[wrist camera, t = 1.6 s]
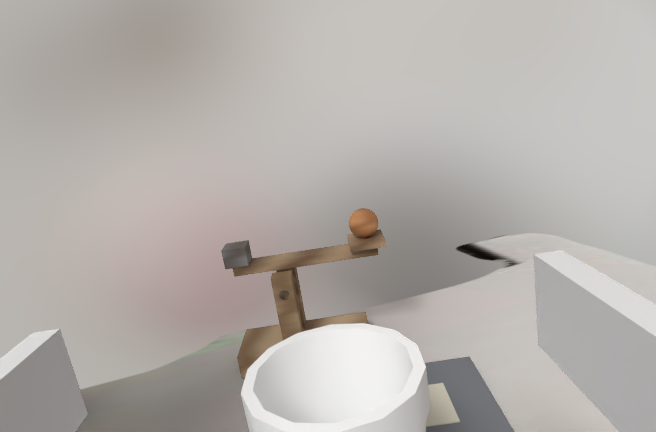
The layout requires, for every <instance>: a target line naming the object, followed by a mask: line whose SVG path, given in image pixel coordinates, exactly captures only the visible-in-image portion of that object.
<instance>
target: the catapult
mask: <svg viewBox="0 0 656 432" xmlns="http://www.w3.org/2000/svg"><path fill="white" fill-rule="evenodd" d="M349 226H350V229H351V231H352V233H353V234H348V242H349V244H344V245H338V246H332V247H325V248H318V249H312V250H305V251H298V252H292V253H285V254H279V255H273V256H266V257H259V258H252V256H251V251H250V246H249V241H242V242H235V243H228V244H226V245H225V246H224V248H223V249H222V256H223V260H224V265H225V269H230V268H233V272H234V276H241V275H248V274H255V273H261V272H268V271H274V270H276V271H277V272H276V273H272V277H271V282H272V288H273V292H274V297H275V303H276V308H277V313H278V318H279V323H280V325H274V326H267V327H261V328H254V329H247V330H246V333H245V336H244V339H243V342H242V345H241V348H240V351H239V354H238V357H237V359H238V363H239V368H240V372H241V377H242V378H245V376H246V373H247V369H248V368H249V367H250V366H251V365H252V364H253V363H254V362H255V361H256V360H257V359H258V358H259V357H260V356H261V355H262V354H263V353H264V352H265V351H266V350H267V349H268V348H270V347H272V346H274V345H276V344H277V343H279V342H281V341H283V340H285V339H287V338H289V337H291V336H293V335H295V334H297V333H300V332H303V331H307V330H311V329H315V328H319V327H323V326H327V325H331V324H356V323H366V324H368V320H367V316H366V312H362V313H355V314H348V315H341V316H335V317H328V318H321V319H315V320H308V321H306V318H305V314H304V308H303V302H302V296H301V291H300V285H299V280H298V274H297V269H296V267H301V266H307V265H314V264H320V263H327V262H334V261H341V260H347V259H354V258H360V257H367V256H373V255H378V248H381V247H386V243H385V238H384V236H383V234H382V232H381V230H377V227H378V219H377V216H376V215H375V213H374V212H372V211H370V210H369V209H364V208H363V209H358V210H356V211H355V212H354V213H353V214H352V215H351V217H350V220H349Z"/></svg>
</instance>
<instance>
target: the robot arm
mask: <svg viewBox="0 0 656 432" xmlns="http://www.w3.org/2000/svg"><path fill="white" fill-rule="evenodd" d="M534 272H535V291H536V311H537V330H538V345H539V346H540V347H541V348H542V350H543V351H544V352H545V353H546V354H547V355H548V356H549V357H550V358H551V359H552V360H553V361H554V362H555V363H556V364H557V366H558V367H559V368H560V369H561V370H562V371H563V372H564V373H565V374H566V375H567V376H568V377H569V378H570V379H571V381H572V382H573V383H574V384H575V385H576V386H577V387H578V388H579V389H580V390H581V391H582V392H583V393H584V394H585V395H586V397H587V398H588V399H589V400H590V401H591V402H592V403H593V404H594V405H595V406H596V407H597V408H598V409H599V410H600V412H601V413H602V414H603V415H604V416H605V417H606V418H607V419H608V420H609V421H610V422H611V423H612V424H613V425H614V426H615V428H616V429H617V430H618V431H619V432H656V304H654V303H653V302H651V301H649V300H647V299H646V298H644V297H642V296H640V295H639V294H637V293H635V292H634V291H632V290H630V289H628V288H627V287H625V286H623V285H621V284H620V283H618V282H616V281H614V280H613V279H611V278H609V277H608V276H606V275H604V274H602V273H601V272H599V271H597V270H595V269H594V268H592V267H590V266H589V265H587V264H585V263H583V262H582V261H580V260H578V259H576V258H575V257H573V256H571V255H570V254H568V253H566V252H564V251H563V250H558V251H552V252H545V253H539V254H534ZM87 415H88V413H87V410H86V407H85V403H84V400H83V397H82V394H81V391H80V388H79V385H78V382H77V379H76V376H75V373H74V370H73V367H72V364H71V361H70V358H69V355H68V352H67V349H66V346H65V343H64V340H63V337H62V334H61V331H60V329H56V330H49V331H43V332H37V333H32V334H31V335H30V336H28V337H27V338H26V339H25V340H23V341H22V342H21V343H19V344H18V345H17V346H16V347H14V348H13V349H12V350H11V351H9V352H8V353H7V354H6V355H4V356H3V357H2V358H0V432H75V431H76V430H77V429H78V427H79V426H80V425H81V423H82V422H83V421H84V419H85V418H86V417H87Z"/></svg>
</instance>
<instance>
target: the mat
mask: <svg viewBox="0 0 656 432" xmlns="http://www.w3.org/2000/svg"><path fill="white" fill-rule="evenodd" d="M425 366H426V371H427V380H428V389H429V397H430V406H431V408H430V411H429V414H428V417H427V420H426V432H514V431H513V429H512V427H511V426H510V424H509V422H508V421H507V419H506V417H505V416H504V414H503V412H502V411H501V409H500V407H499V406H498V404H497V402H496V401H495V399H494V397H493V396H492V394H491V392H490V390H489V389H488V387H487V385H486V384H485V382H484V380H483V379H482V377H481V375H480V374H479V372H478V370H477V369H476V367H475V365H474V364H473V362H472V360H471V359H470V357H464V358H457V359H450V360H443V361H436V362H429V363H425Z"/></svg>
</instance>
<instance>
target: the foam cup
mask: <svg viewBox="0 0 656 432" xmlns="http://www.w3.org/2000/svg"><path fill="white" fill-rule="evenodd" d="M241 397H242V402H243V406H244V410H245V415H246V419H247V423H248V428H249V432H426V420H427V417H428V414H429V411H430V408H431V406H430V397H429V389H428V380H427V371H426V366H425V363H424V361H423V358H422V356H421V353H420V350H419V348H418V345H417V344H416V343H414V342H413V341H411V340H409V339H408V338H406V337H405V336H403V335H402V334H400V333H399V332H397V331H396V330H393V329H389V328H384V327H380V326H375V325H370V324H366V323H356V324H331V325H327V326H323V327H319V328H315V329H311V330H307V331H303V332H300V333H297V334H295V335H293V336H291V337H289V338H287V339H285V340H283V341H281V342H279V343H277V344H276V345H274V346H272V347H270V348H268V349H267V350H266V351H265V352H264V353H263V354H262V355H261V356H260V357H259V358H258V359H257V360H256V361H255V362H254V363H253V364H252V365H251V366H250V367H249V368H248V369H247V373H246V376H245V380H244V383H243V387H242V391H241Z"/></svg>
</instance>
